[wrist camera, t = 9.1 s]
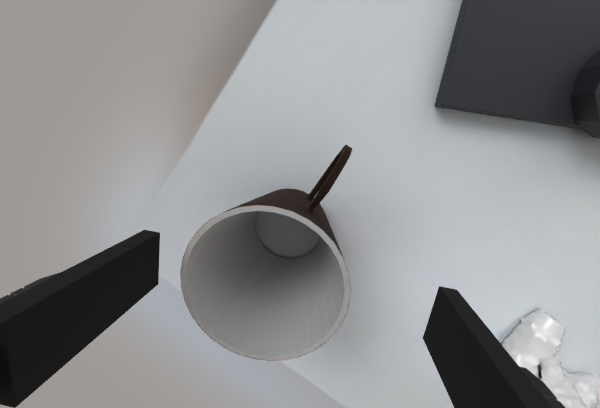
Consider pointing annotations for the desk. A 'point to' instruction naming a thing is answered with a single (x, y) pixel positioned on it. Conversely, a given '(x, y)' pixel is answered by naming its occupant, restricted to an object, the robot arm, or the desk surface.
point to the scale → (526, 62)
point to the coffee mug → (269, 274)
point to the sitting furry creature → (550, 360)
